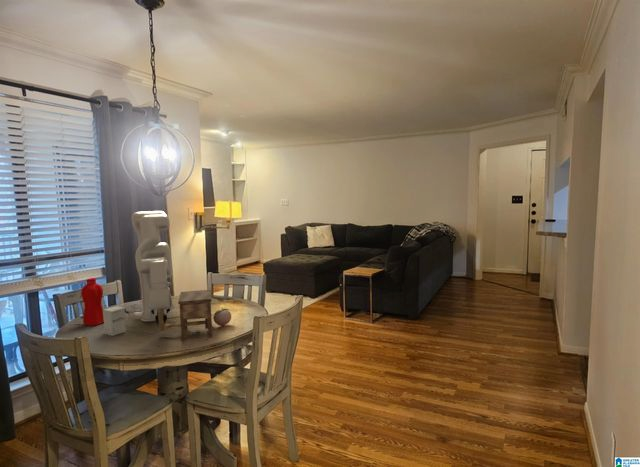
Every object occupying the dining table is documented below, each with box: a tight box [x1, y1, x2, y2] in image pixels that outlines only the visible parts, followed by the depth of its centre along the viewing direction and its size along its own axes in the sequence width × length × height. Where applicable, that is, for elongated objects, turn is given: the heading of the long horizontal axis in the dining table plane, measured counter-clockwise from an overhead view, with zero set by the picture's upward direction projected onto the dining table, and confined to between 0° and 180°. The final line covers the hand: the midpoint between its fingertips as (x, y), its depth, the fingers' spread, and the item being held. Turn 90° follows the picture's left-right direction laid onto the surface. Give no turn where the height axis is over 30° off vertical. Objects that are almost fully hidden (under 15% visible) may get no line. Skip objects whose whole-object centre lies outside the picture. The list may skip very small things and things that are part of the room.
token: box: [190, 329, 201, 336], centre depth 197 cm, size 4×4×1 cm
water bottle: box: [80, 277, 104, 327], centre depth 213 cm, size 9×11×25 cm
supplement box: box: [103, 305, 127, 337], centre depth 199 cm, size 7×7×13 cm
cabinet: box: [177, 289, 213, 342], centre depth 197 cm, size 15×19×19 cm
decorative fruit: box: [212, 307, 232, 327], centre depth 206 cm, size 9×8×10 cm
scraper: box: [158, 309, 208, 333], centre depth 195 cm, size 23×9×11 cm, turn 106°
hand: (161, 322), depth 192 cm, fingers closed on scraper
